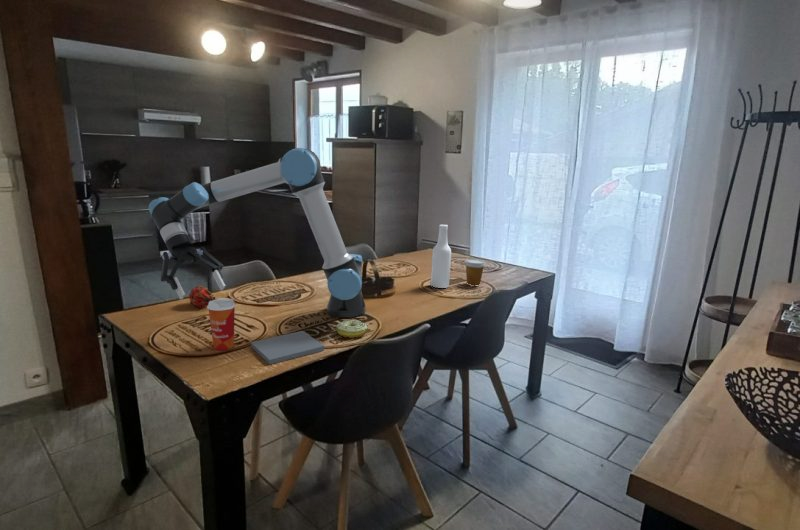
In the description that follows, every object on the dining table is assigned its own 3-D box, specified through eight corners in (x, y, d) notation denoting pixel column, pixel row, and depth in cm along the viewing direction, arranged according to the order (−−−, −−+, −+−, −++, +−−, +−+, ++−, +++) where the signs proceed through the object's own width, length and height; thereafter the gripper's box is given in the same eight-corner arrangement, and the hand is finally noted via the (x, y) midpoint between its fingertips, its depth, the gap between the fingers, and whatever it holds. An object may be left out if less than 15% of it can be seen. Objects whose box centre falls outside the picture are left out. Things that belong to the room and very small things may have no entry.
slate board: (302, 334, 155) (302, 330, 155) (324, 350, 144) (324, 346, 144) (251, 346, 144) (250, 342, 144) (269, 364, 133) (269, 359, 133)
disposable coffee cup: (486, 286, 222) (488, 263, 219) (469, 288, 218) (471, 264, 215) (476, 281, 230) (478, 258, 227) (460, 282, 227) (461, 259, 224)
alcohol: (429, 288, 215) (432, 225, 208) (432, 283, 224) (435, 223, 216) (447, 290, 213) (451, 227, 206) (450, 285, 222) (454, 224, 214)
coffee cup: (203, 348, 142) (200, 302, 138) (225, 339, 149) (222, 295, 145) (223, 354, 138) (220, 307, 135) (243, 345, 145) (241, 300, 142)
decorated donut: (371, 331, 162) (372, 321, 161) (358, 341, 152) (358, 331, 151) (345, 325, 165) (346, 316, 165) (331, 336, 156) (331, 325, 155)
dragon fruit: (196, 305, 185) (210, 316, 177) (178, 297, 178) (192, 309, 171) (208, 287, 186) (222, 298, 179) (191, 278, 179) (205, 289, 172)
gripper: (208, 241, 163) (234, 290, 157) (134, 251, 143) (160, 307, 138) (215, 228, 158) (242, 278, 153) (140, 237, 139) (167, 294, 134)
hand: (203, 292), depth 146 cm, fingers open, 13 cm apart
